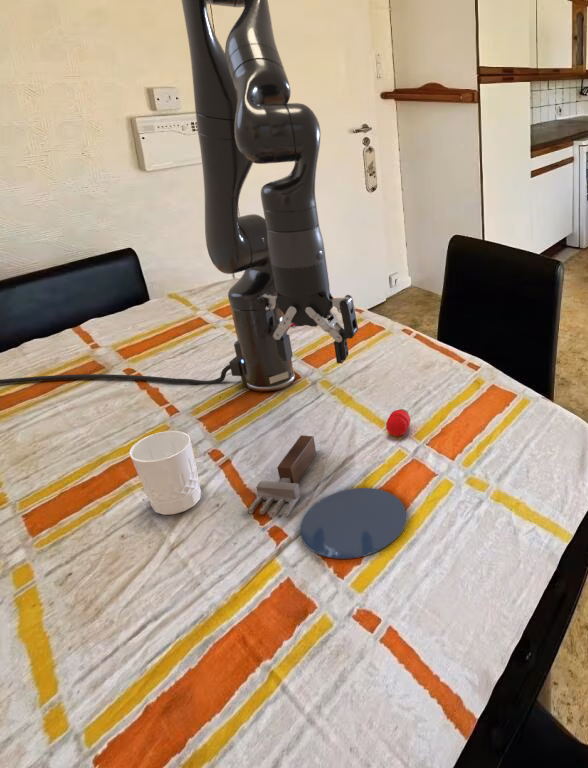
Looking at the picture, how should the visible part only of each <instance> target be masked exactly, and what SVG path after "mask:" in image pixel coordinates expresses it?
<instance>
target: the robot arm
mask: <svg viewBox="0 0 588 768" xmlns="http://www.w3.org/2000/svg"><path fill="white" fill-rule="evenodd" d="M181 5H182V6H181V7H182V12H183V16H184V22H185V30H186V34H187V40H188V41H187V42H188V49H189V55H190V56H189V57H190V66H191V75H192V86H193V87H192V88H193V97H194V98H193V99H194V110H195V111H194V112H195V113H194V114H195V119H196V120H195V121H196V130H197V136H198V142H199V148H200V157H201V166H202V176H203V177H202V178H203V191H204V192H203V193H204V195H203V196H204V237H205V245H206V249H207V253H208V256H209V258H210V261H211V262H212V264H213V266H214V267H215V268H216V269H217V271H219V272H221V273H223V274H226V275H232V274H237V273H241V272H243V274H242V275H241V277H240V278H239V279H238V280H237V281H236V282H235V283H234V284H233V285H232V286H231V287H230V288H229V289H228V292H227V297H228V302H229V307H230V312H231V316H232V321H233V325H234V329H235V334H236V339H237V340H236V341H235V342H234V343H233V348H234V351H235V357H234V358H232V359H231V360H230V361H229V362H228V365H226V366H224V368H223V369H222V370H221V372H220V376H219V377H218V378H216V379H211V380H199V379H193V378H192V379H191V378H175V377H174V378H173V377H162V376H152V375H151V376H150V375H137V374H136V375H135V374H134V375H133V374H106V373H103V374H102V373H99V374H98V373H93V374H91V373H89V374H88V373H87V374H86V373H85V374H83V373H82V374H59V375H58V374H57V375H56V374H55V375H39V376H26V377H25V376H24V377H14V378H1V379H0V385H4V384H16V383H27V382H41V381H43V382H45V381H57V380H59V381H61V380H93V379H95V380H103V379H104V380H128V381H129V380H130V381H131V380H132V381H146V382H147V381H148V382H160V383H169V384H170V383H171V384H187V385H188V384H190V385H196V386H197V385H198V386H199V385H201V386H202V385H203V386H204V385H217V384H220V383H221V382H223V381H224V380H225V379H226V376H227V372H229V371H230V372H231V376H233V377H240V379H241V383H242V386H243V387H245V388H248V389H249V390H251V391H254V392H260V393H261V392H262V393H263V392H265V393H267V392H274V391H275V392H276V391H279V390H282V389H285V388H286V387H288V386H290V385H291V384H293V383H294V381H295V379H296V375H295V371H294V365H293V360H292V358H293V349H292V342H291V337H290V334H288V331H289V329H290V328H291V327H292V326H291V325H292V323H294V324H296V325H295V327H304V326H308V327H313V328H316V327H318V326H319V327H320V328H321V330H323V332H325V333H328V335H329V336H331V338H332V339H333V340H334V341H333V345H334V353H335V360H336V364H341V365H342V364H343V363H344V362H345V361H346V359H347V358H348V357H349V345H348V339H351V340H352V339H353V338H354V336H355V335H356V334H357V332H358V331H359V326H358V321H357V320H358V319H357V315H356V311H355V310H356V308H355V303H354V299H353V296H352V295H350V294H346V295H344V297H333V295H332V293H331V290H330V289H331V288H330V280H329V272H328V265H327V259H326V258H327V257H326V251H325V250H326V249H325V244H324V239H323V235H322V230H321V228H320V220H319V214H318V207H317V199H316V178H317V167H318V159H319V154H320V147H321V137H322V136H321V126H320V122H319V120H318V119H319V118H318V117H317V115H316V114H315V113H314V111H313V110H312V109H311V108H310V107H309V106H307V105H306V104H304V103H300V102H292V103H291V102H289V101H290V99H291V93H292V92H291V85H290V82H289V78H288V76H287V73H286V70H285V66H284V64H283V62H282V59H281V56H280V54H279V50H278V46H277V44H276V39H275V35H274V31H273V30H274V29H273V24H272V17H271V11H270V4H269V1H268V0H181ZM208 5H212V6H219V7H220V6H221V7H228V8H229V7H230V8H238V9H239V8H243V10H242V12H241V13H240V15H239V17H238V19H237V20H236V22H235V23H234V24H233V26H232V27H231V29H230V31H229V33H228V35H227V37H226V41H225V47H224V49H225V50H224V49H223V47H222V45H221V43H220V41H219V39H218V37H217V35H216V33H215V31H214V29H213V26H212V23H211V20H210V19H211V18H210V16H209V12H208ZM293 162H294V165H293V168H292V170H291V171H290V173H289V174H288V175H286V176H284V177H282V178H279V179H275V180H272V181H269V182H267V183H265V184H264V185H263V186H262V187H261V189H260V197H261V198H260V201H261V205H262V212H263V216H261V215H259V214H254V213H251V214H246V215H241V216H239V201H240V195H241V192H242V189H243V186H244V184H245V182H246V180H247V177H248V176H249V173H250V171H251V169H252V166H253V164H256V165H263V164H264V165H267V164H269V165H270V164H278V163H293ZM333 308H336V311H337V312H338V314H340V315H341V318H342V324H343V325H342V324H341V323H340V321H339V318H338V317H337V316H336V315H335V313H334V312H333V311H332V309H333ZM283 313H284V314H285V315H284V314H283ZM290 326H291V327H290Z"/></svg>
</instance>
